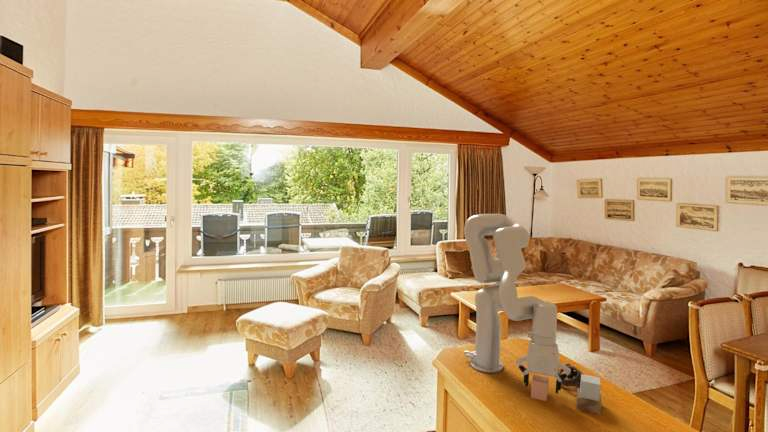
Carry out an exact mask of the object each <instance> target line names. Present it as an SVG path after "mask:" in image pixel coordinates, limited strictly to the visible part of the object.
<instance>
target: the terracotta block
mask: <svg viewBox="0 0 768 432" xmlns="http://www.w3.org/2000/svg"><path fill="white" fill-rule="evenodd" d="M549 379H550V378H549V377H546V376H542V375H539V374H533V375H532V379H531V387H530V398H532V399H535V400H540V401H545V402H547V400H548V396H549V395H548V394H549V383H550V381H549Z"/></svg>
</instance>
